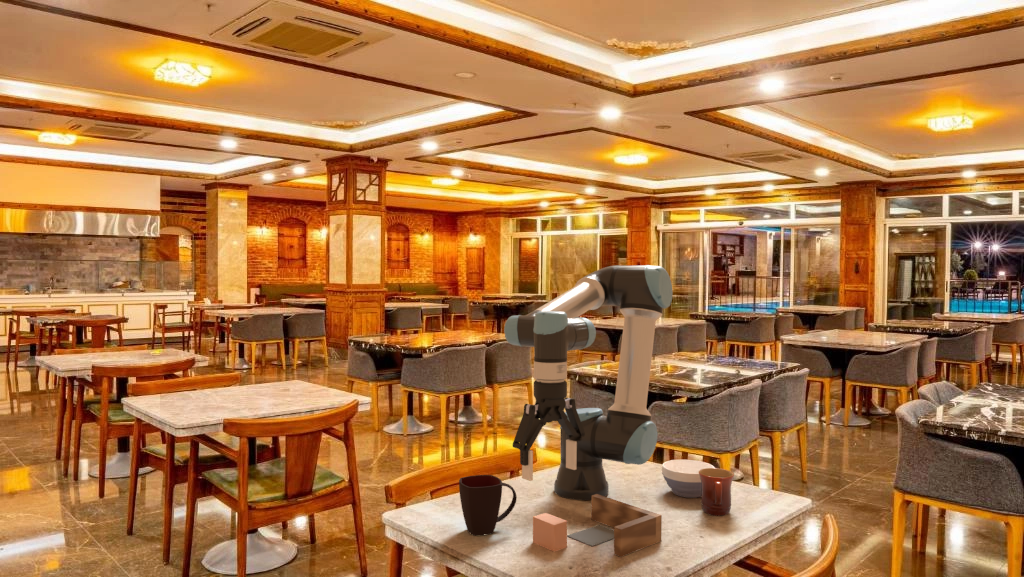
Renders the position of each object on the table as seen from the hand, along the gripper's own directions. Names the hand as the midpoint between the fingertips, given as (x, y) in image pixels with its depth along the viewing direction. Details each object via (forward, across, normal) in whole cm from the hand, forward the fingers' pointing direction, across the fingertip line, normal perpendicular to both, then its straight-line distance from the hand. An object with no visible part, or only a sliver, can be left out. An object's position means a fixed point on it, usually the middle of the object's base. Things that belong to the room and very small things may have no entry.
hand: (549, 474), depth 160 cm
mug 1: (+16, -5, +16) cm, 23 cm away
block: (+16, 0, 0) cm, 16 cm away
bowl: (+16, +55, +2) cm, 58 cm away
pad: (+16, +12, -3) cm, 20 cm away
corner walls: (+16, +14, -5) cm, 22 cm away
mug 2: (+16, +46, -13) cm, 51 cm away
